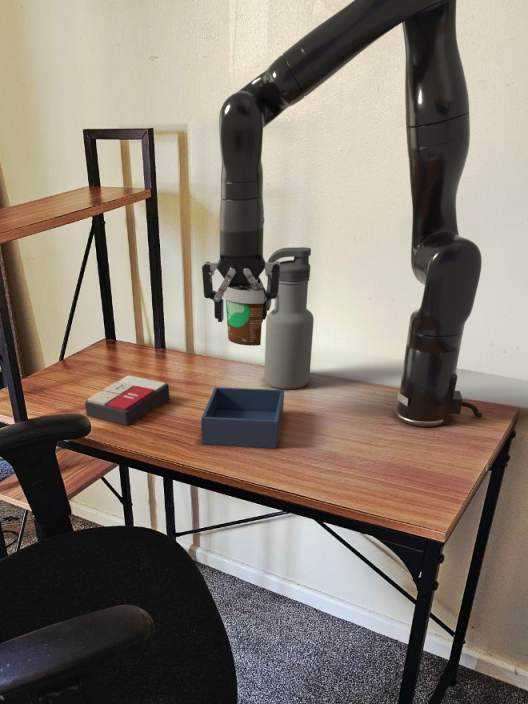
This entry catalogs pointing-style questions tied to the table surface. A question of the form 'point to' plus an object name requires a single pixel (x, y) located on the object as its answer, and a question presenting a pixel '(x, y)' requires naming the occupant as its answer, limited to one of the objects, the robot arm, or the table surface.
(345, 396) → the table surface
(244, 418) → the tote
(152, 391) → the calculator
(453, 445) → the table surface
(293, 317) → the water bottle
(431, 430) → the table surface
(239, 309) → the food container
